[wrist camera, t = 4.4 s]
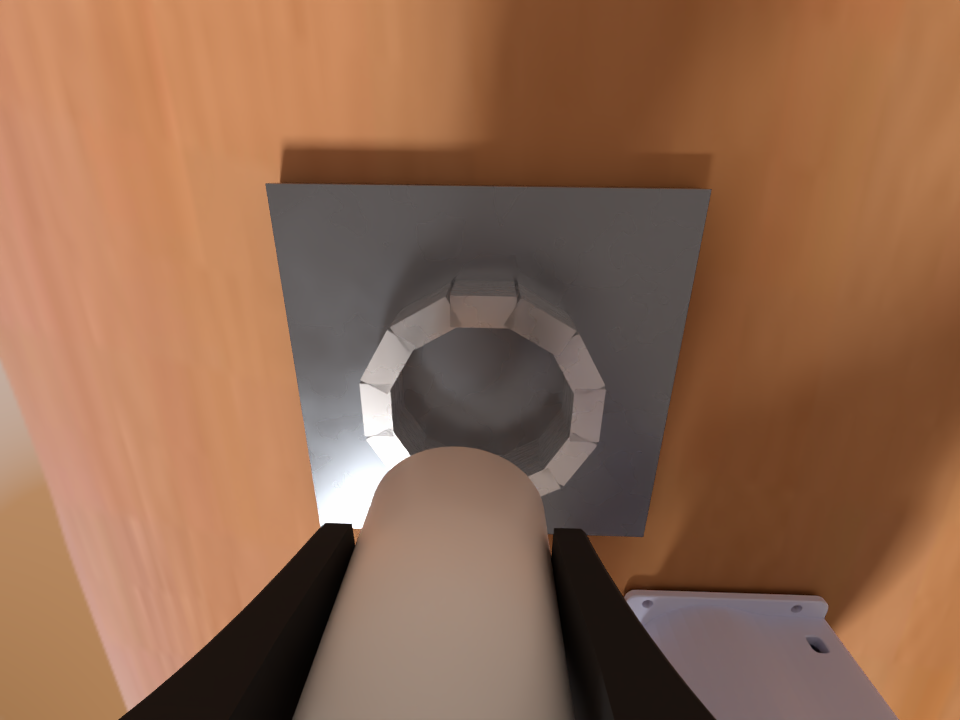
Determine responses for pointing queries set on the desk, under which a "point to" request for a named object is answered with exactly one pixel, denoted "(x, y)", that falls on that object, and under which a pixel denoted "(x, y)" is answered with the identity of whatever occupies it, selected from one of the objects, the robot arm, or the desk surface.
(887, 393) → the desk surface
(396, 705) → the cylinder
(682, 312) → the duct base
